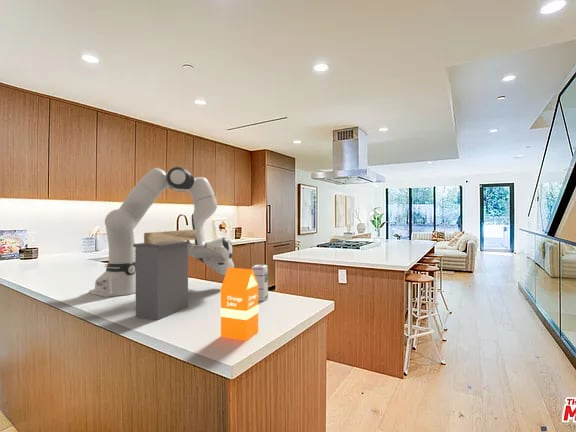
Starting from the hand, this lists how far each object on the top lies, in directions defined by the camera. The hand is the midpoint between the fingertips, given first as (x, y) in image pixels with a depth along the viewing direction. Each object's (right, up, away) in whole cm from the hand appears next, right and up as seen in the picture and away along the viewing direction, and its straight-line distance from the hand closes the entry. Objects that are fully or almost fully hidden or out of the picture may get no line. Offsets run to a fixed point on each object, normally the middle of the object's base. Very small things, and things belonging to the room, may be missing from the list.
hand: (196, 244), depth 137 cm
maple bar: (-5, +2, -14) cm, 15 cm away
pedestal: (-7, -24, -19) cm, 31 cm away
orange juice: (+25, -24, -41) cm, 54 cm away
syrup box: (+28, -24, -1) cm, 36 cm away
